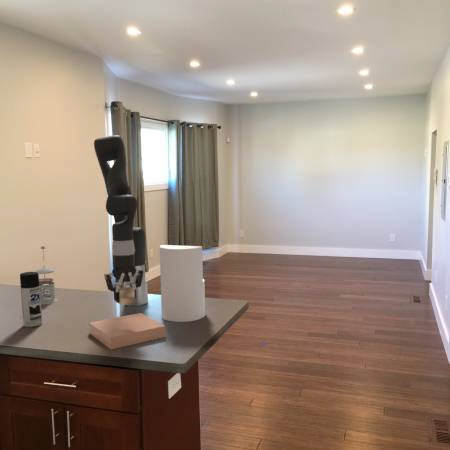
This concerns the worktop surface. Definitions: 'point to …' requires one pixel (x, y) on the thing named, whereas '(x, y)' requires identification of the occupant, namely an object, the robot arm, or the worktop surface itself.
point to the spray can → (30, 299)
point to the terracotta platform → (126, 330)
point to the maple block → (126, 295)
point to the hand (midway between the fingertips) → (125, 300)
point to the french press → (46, 297)
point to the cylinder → (182, 283)
